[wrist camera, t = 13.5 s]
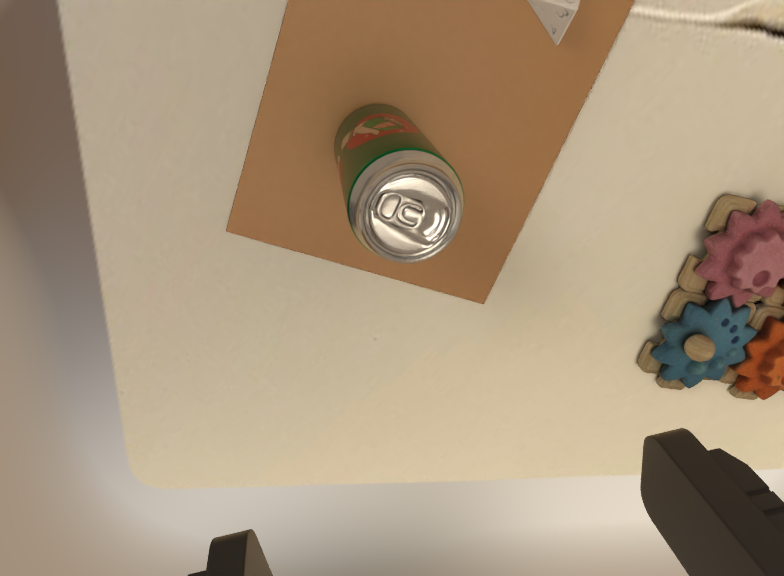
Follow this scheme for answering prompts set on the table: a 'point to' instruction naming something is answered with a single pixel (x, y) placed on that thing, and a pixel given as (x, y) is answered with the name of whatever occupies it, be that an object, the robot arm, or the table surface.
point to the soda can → (396, 185)
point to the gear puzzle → (728, 307)
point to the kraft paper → (419, 120)
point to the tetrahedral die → (555, 15)
